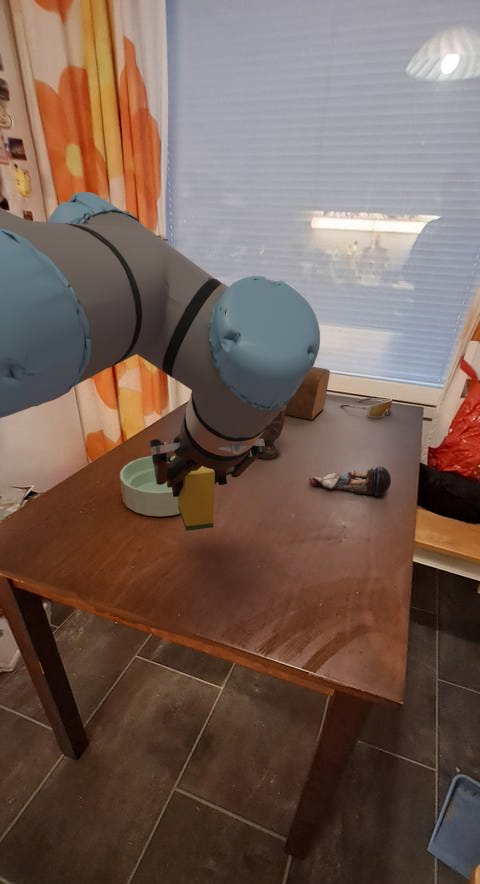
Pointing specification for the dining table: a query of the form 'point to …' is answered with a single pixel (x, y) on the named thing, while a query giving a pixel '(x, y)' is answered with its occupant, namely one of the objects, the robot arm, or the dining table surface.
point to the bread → (310, 395)
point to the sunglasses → (375, 407)
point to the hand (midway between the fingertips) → (189, 486)
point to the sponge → (197, 499)
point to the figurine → (357, 481)
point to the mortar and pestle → (273, 435)
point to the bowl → (146, 489)
